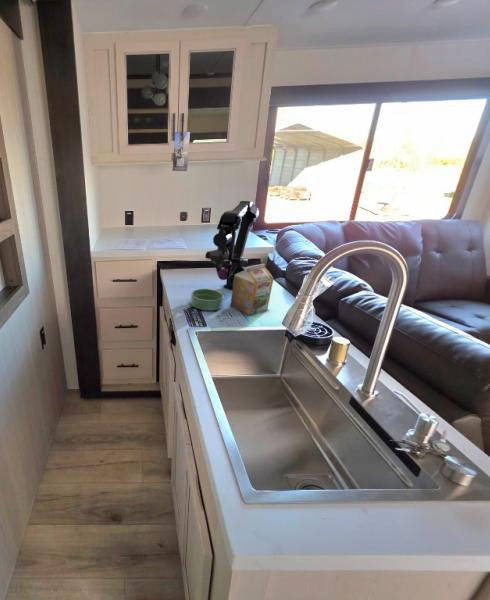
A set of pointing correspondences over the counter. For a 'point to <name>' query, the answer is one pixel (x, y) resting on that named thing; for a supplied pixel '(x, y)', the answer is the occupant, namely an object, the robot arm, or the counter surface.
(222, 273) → the ball
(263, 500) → the counter surface
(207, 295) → the bowl
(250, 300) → the milk carton
